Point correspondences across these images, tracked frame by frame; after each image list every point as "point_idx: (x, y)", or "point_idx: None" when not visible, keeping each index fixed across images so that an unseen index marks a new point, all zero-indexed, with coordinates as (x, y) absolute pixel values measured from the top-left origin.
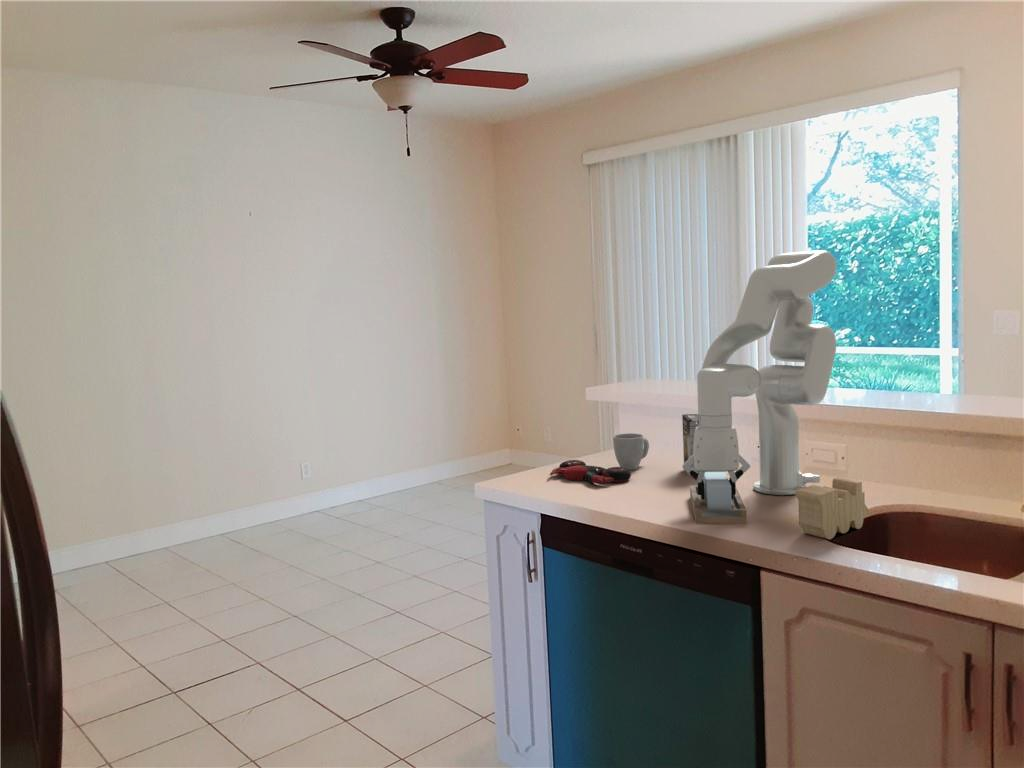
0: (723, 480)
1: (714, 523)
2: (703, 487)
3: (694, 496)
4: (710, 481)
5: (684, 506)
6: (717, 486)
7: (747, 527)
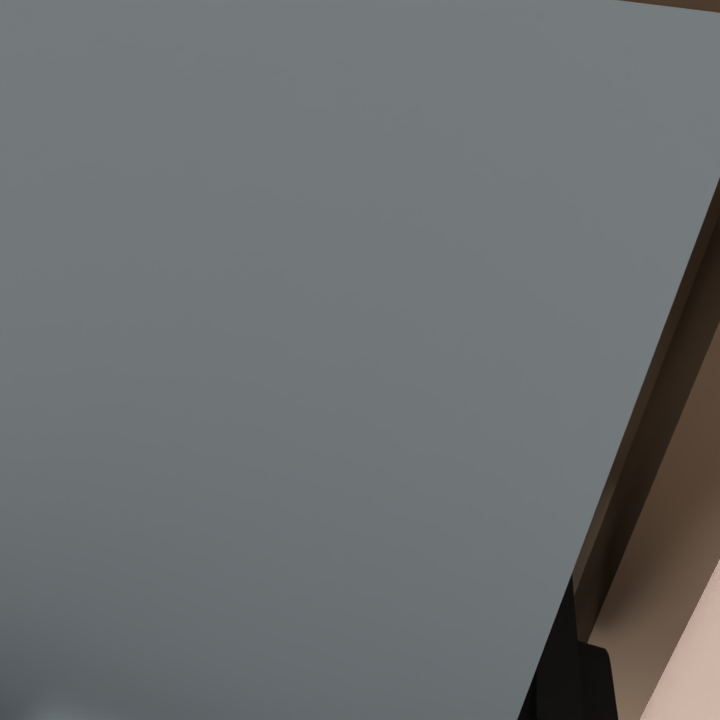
0: (80, 662)
1: None
2: (539, 694)
3: (621, 686)
4: (399, 699)
5: (678, 672)
6: (331, 17)
7: None
